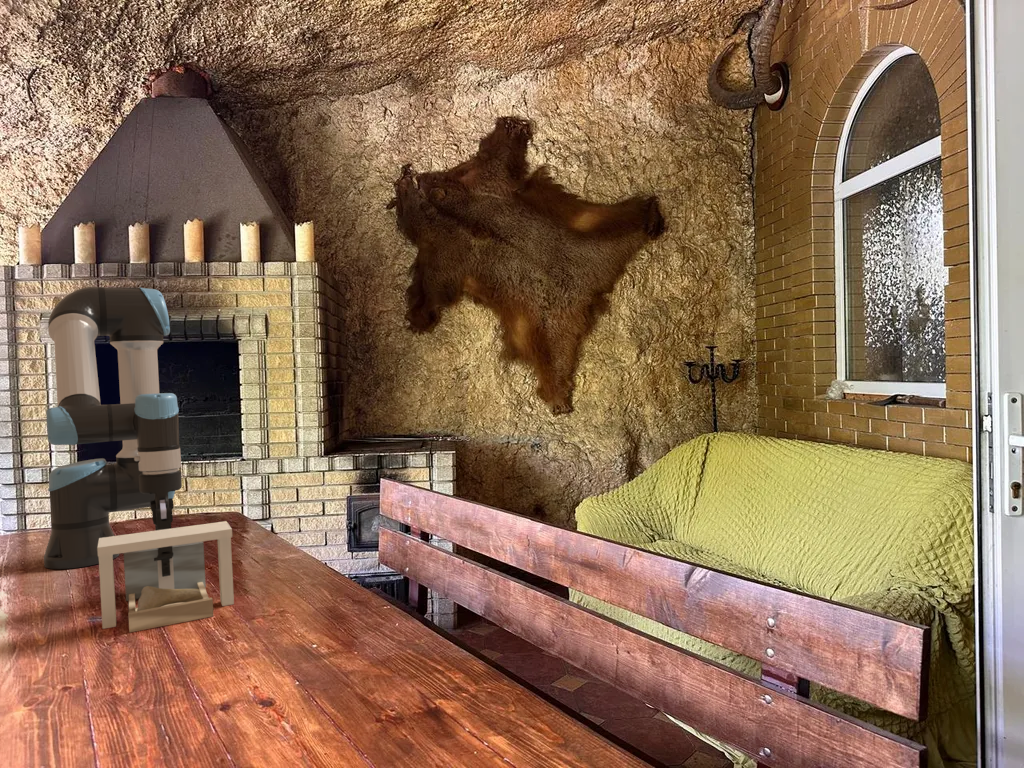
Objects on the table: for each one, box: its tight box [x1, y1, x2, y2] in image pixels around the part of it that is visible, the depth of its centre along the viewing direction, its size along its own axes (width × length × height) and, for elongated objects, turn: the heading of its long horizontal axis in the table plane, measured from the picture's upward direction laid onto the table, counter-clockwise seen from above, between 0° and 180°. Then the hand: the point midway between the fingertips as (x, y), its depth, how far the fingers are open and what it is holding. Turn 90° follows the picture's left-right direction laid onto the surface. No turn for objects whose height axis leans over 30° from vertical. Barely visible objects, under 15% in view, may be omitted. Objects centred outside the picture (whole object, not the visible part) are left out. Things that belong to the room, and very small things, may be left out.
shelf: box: [97, 520, 235, 630], centre depth 124 cm, size 8×21×14 cm, turn 119°
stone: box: [137, 586, 203, 611], centre depth 125 cm, size 11×6×5 cm, turn 141°
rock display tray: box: [123, 541, 214, 633], centre depth 129 cm, size 23×14×9 cm, turn 29°
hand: (166, 588), depth 137 cm, fingers closed on rock display tray, 4 cm apart
